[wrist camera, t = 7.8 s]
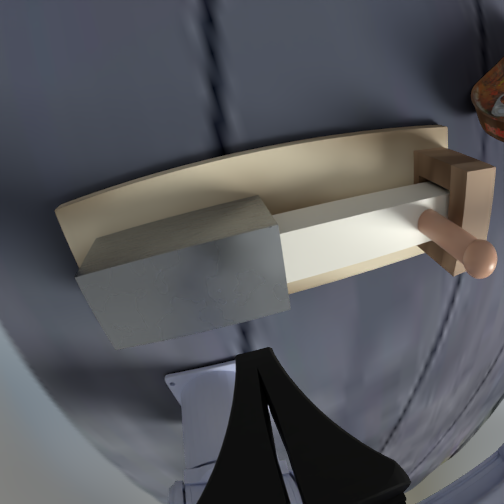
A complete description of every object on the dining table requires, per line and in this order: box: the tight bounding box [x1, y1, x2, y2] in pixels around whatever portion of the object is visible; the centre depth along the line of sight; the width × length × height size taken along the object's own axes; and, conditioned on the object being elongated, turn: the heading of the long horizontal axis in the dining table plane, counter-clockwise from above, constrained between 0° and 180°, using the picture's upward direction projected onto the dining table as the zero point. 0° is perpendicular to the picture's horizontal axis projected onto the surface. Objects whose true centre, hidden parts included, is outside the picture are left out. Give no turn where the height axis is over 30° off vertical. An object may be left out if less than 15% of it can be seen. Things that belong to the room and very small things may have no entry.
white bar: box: [272, 181, 497, 283], centre depth 15 cm, size 3×16×8 cm, turn 100°
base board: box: [54, 125, 448, 294], centre depth 20 cm, size 10×26×1 cm, turn 100°
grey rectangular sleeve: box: [75, 195, 291, 350], centre depth 17 cm, size 5×10×4 cm, turn 100°
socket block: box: [413, 147, 496, 276], centre depth 18 cm, size 7×3×5 cm, turn 10°
